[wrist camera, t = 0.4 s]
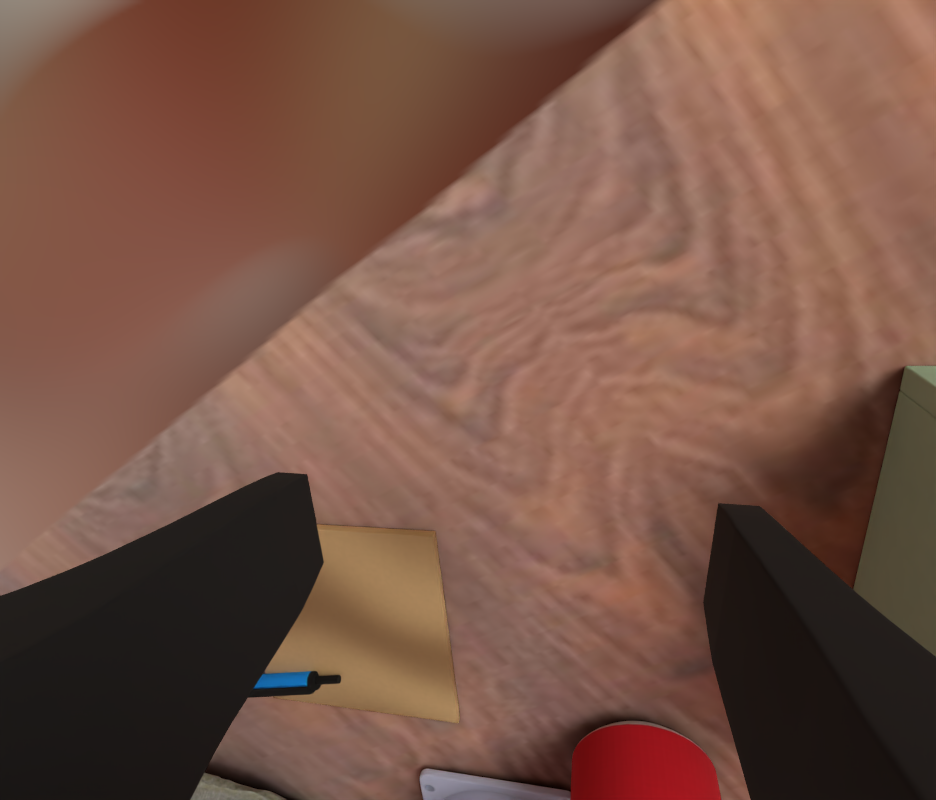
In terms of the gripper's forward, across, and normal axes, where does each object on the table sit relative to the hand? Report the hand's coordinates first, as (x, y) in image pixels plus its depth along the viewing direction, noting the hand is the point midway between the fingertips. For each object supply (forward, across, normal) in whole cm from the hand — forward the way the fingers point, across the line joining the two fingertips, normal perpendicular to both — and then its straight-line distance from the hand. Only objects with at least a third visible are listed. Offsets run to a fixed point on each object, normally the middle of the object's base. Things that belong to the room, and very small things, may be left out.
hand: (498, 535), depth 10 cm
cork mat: (+10, +9, +14) cm, 19 cm away
